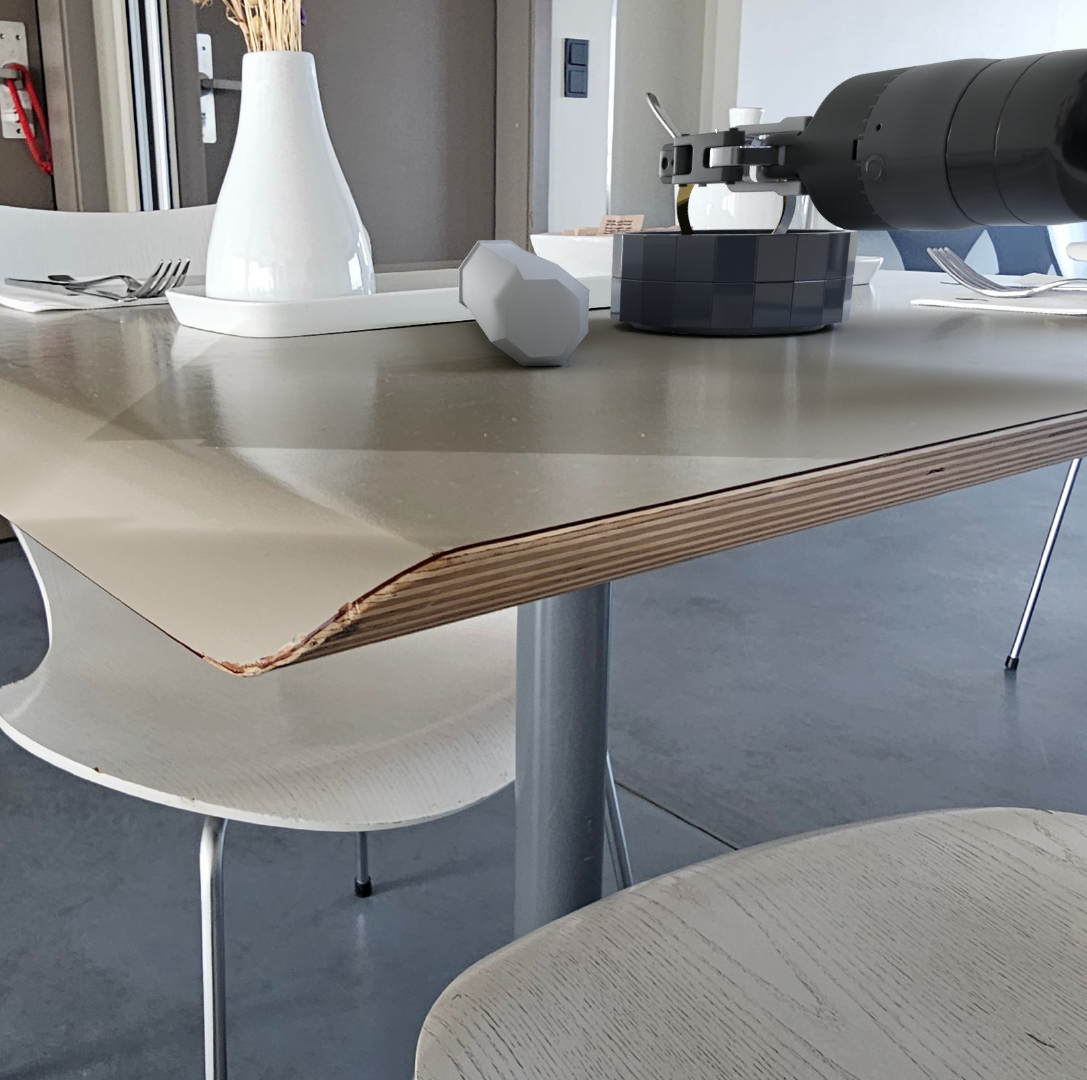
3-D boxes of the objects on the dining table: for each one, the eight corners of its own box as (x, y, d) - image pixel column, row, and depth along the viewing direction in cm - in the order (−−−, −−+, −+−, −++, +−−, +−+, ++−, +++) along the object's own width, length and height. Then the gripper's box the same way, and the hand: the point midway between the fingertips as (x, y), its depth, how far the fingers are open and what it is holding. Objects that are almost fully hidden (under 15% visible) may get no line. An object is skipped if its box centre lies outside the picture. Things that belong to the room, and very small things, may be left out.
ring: (787, 266, 72) (799, 125, 69) (793, 269, 69) (805, 121, 66) (672, 268, 73) (679, 129, 70) (673, 270, 70) (680, 125, 67)
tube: (619, 279, 53) (549, 253, 76) (508, 241, 52) (471, 226, 75) (579, 393, 54) (522, 333, 78) (470, 358, 54) (446, 308, 77)
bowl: (745, 311, 81) (751, 227, 79) (899, 329, 69) (910, 230, 67) (568, 322, 76) (570, 232, 74) (702, 343, 63) (708, 236, 62)
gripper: (1041, 67, 58) (811, 98, 73) (816, 59, 53) (614, 94, 67) (1019, 227, 61) (801, 226, 75) (801, 235, 55) (611, 232, 70)
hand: (714, 164), depth 71 cm, fingers closed on ring, 6 cm apart
